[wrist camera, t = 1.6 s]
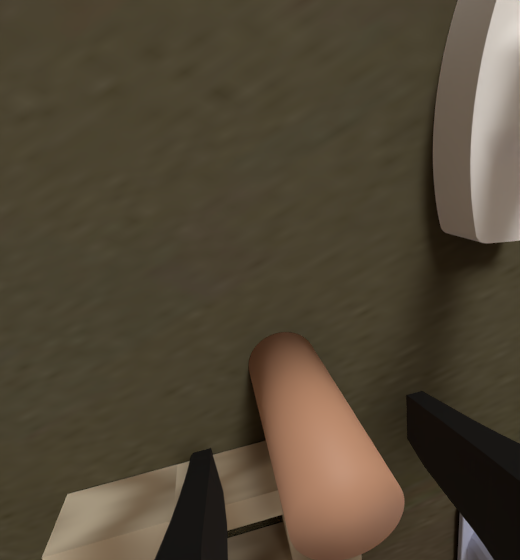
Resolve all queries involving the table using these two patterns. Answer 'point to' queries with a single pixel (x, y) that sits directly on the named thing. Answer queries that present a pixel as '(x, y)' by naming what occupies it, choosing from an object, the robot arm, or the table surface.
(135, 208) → the table surface
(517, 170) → the joystick
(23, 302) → the table surface
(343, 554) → the peg
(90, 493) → the socket block
